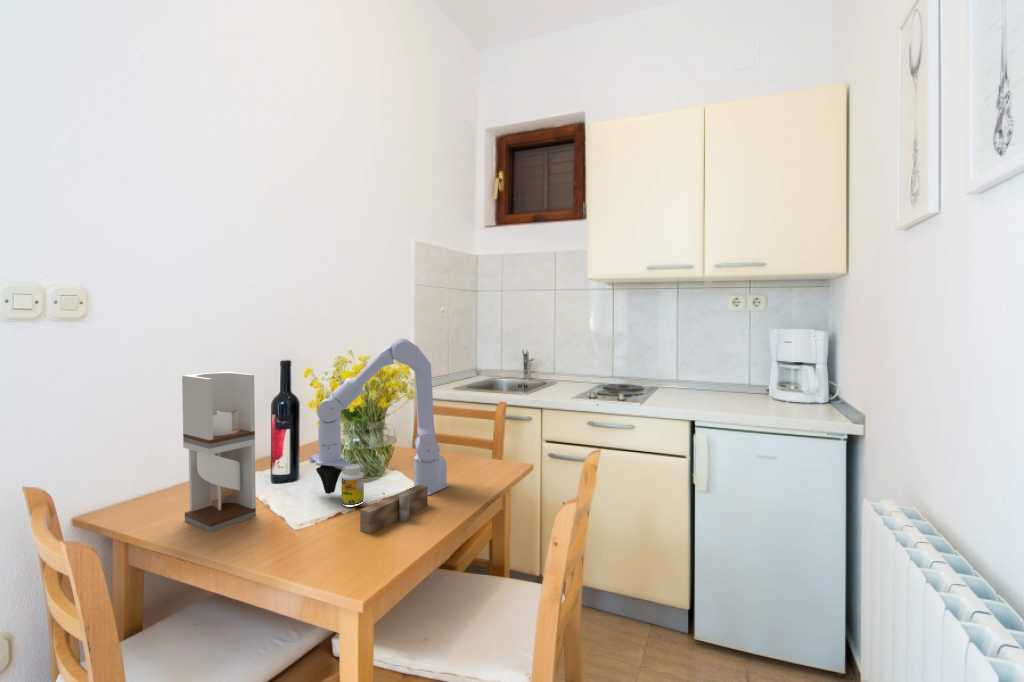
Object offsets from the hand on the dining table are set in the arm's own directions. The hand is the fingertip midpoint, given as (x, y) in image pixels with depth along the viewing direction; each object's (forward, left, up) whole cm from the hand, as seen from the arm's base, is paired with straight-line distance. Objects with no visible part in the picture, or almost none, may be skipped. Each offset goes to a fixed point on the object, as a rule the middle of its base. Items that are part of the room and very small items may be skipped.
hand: (329, 492), depth 130 cm
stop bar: (0, +26, -1) cm, 26 cm away
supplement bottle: (0, +9, -2) cm, 9 cm away
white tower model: (+23, -11, -2) cm, 26 cm away
